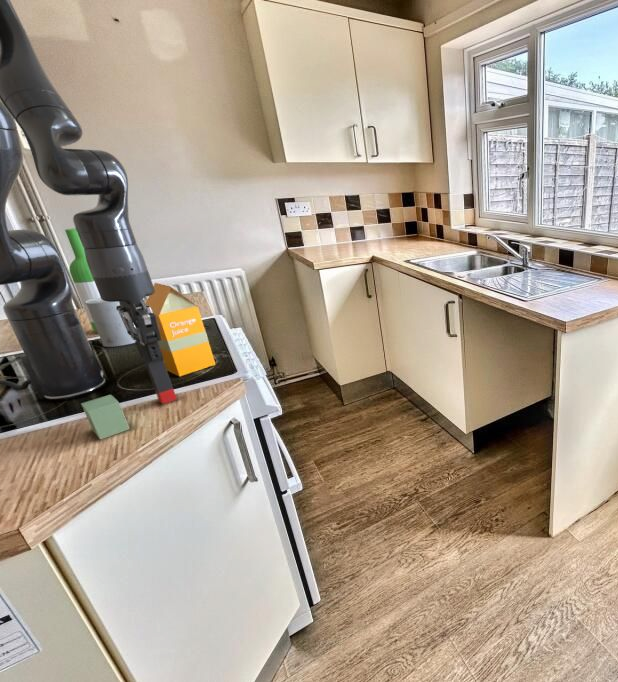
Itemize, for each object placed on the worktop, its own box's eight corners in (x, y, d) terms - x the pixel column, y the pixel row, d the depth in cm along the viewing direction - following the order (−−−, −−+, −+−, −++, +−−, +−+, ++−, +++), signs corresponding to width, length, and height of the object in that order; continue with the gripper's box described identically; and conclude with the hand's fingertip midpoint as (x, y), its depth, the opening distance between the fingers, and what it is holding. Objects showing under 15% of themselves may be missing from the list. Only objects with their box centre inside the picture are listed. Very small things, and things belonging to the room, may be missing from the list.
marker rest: (100, 439, 72) (87, 411, 70) (93, 430, 75) (80, 403, 73) (129, 429, 75) (118, 401, 73) (121, 420, 78) (110, 394, 76)
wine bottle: (90, 331, 128) (48, 230, 117) (122, 323, 134) (85, 227, 123) (99, 335, 124) (57, 231, 113) (132, 327, 130) (94, 228, 119)
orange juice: (179, 376, 95) (149, 290, 88) (162, 368, 99) (132, 286, 92) (216, 364, 101) (191, 282, 94) (199, 357, 106) (174, 279, 98)
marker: (138, 338, 78) (154, 334, 80) (134, 335, 79) (150, 332, 81) (162, 404, 83) (177, 399, 85) (158, 401, 84) (173, 396, 86)
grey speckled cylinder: (94, 344, 117) (77, 301, 112) (134, 333, 125) (119, 293, 120) (115, 348, 113) (97, 304, 109) (154, 336, 121) (139, 295, 117)
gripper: (159, 271, 74) (189, 360, 80) (134, 264, 82) (163, 346, 88) (103, 279, 68) (139, 375, 75) (82, 271, 76) (117, 358, 83)
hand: (152, 358), depth 81 cm, fingers open, 4 cm apart
